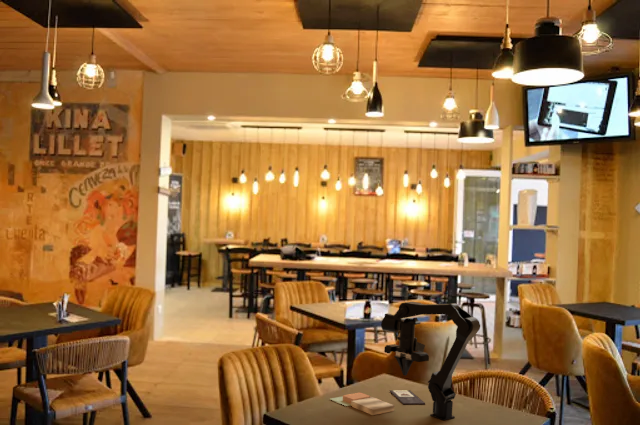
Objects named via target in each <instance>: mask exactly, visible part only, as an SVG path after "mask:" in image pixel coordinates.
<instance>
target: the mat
mask: <svg viewBox="0 0 640 425" xmlns="http://www.w3.org/2000/svg"><path fill="white" fill-rule="evenodd" d="M331 400H332V401H331ZM329 401H331V402H333V403H337V404H339V405H341V404H342V406H343V405H344V407H346V406H347V407H351V404H350V403H347V402H345V401H343V395H341V396H337V397H331V398H329Z"/></svg>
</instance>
